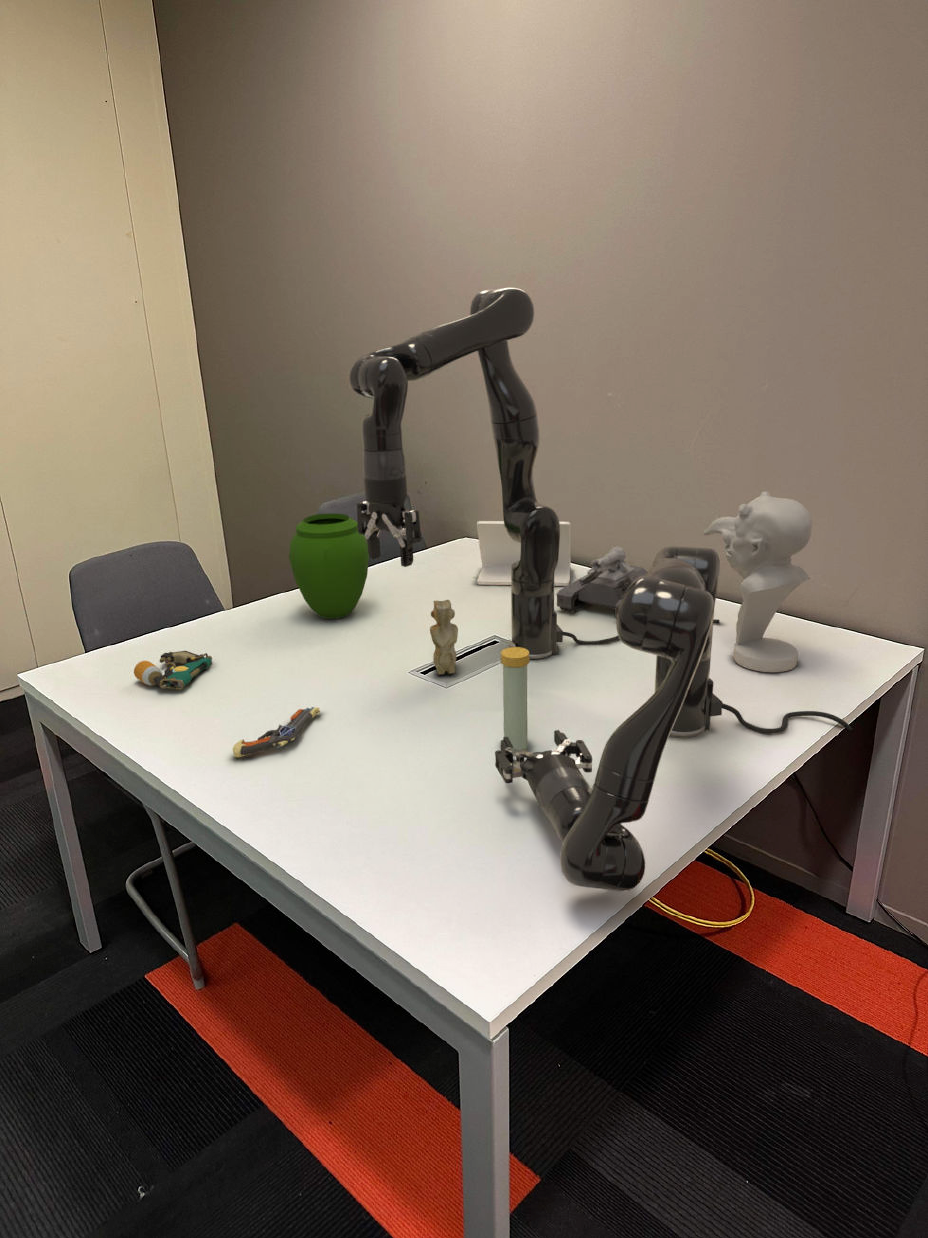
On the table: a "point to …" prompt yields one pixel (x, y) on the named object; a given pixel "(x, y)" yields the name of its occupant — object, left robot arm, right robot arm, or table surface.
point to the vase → (329, 563)
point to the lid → (515, 657)
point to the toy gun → (277, 734)
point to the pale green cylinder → (515, 705)
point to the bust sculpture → (764, 574)
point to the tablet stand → (514, 554)
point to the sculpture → (444, 637)
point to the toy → (601, 583)
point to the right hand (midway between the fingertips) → (530, 738)
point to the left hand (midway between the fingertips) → (390, 561)
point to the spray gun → (172, 669)
